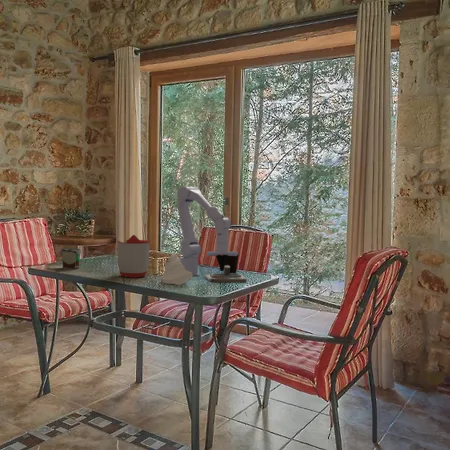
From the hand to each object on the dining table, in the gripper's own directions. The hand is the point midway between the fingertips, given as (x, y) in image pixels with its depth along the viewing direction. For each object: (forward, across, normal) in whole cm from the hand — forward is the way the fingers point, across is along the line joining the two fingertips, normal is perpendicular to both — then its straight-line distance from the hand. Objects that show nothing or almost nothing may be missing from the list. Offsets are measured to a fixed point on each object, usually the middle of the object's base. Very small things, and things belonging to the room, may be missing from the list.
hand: (221, 270), depth 243 cm
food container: (+4, -71, +37) cm, 80 cm away
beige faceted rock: (+4, -23, -8) cm, 25 cm away
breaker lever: (+3, +3, 0) cm, 4 cm away
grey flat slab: (+4, +2, 0) cm, 4 cm away
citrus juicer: (+4, -42, +11) cm, 44 cm away
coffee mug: (+4, +9, +19) cm, 21 cm away
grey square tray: (+4, +2, 0) cm, 4 cm away
